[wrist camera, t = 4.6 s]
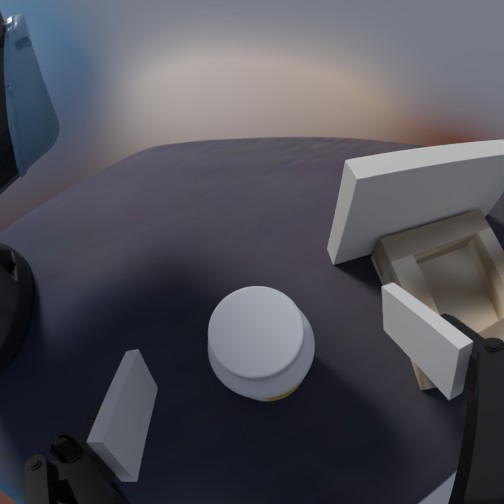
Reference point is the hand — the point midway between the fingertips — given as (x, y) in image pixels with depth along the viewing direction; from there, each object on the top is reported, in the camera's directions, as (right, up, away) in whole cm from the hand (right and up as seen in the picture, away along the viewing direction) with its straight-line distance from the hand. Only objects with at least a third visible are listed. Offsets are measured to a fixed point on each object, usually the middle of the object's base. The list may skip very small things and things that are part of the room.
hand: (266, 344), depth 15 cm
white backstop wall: (+14, +6, +9) cm, 18 cm away
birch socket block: (+16, +1, +6) cm, 17 cm away
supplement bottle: (0, -3, +6) cm, 7 cm away
